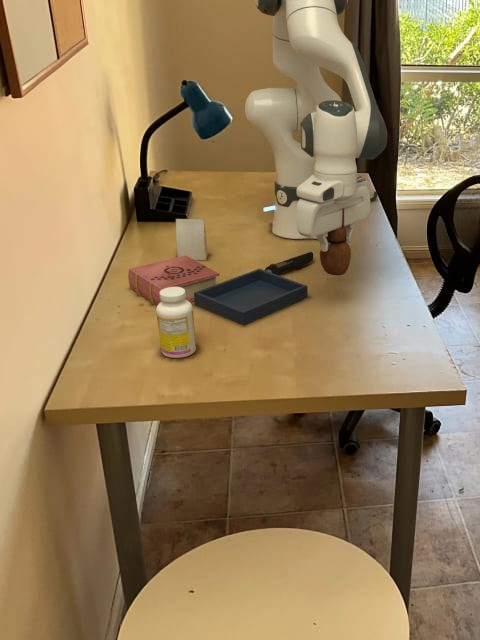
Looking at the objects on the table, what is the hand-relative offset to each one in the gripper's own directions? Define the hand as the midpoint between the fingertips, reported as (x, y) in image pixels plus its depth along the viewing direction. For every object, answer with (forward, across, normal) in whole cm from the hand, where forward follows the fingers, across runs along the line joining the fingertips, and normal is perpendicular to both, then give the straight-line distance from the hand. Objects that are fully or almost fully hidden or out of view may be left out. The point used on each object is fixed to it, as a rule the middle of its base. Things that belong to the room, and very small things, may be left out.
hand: (335, 246), depth 162 cm
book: (+15, +18, -33) cm, 40 cm away
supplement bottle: (+15, +36, -9) cm, 40 cm away
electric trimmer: (+15, -9, -23) cm, 29 cm away
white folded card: (+15, +1, -47) cm, 49 cm away
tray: (+14, +10, -16) cm, 24 cm away
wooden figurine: (+6, 0, 0) cm, 6 cm away
